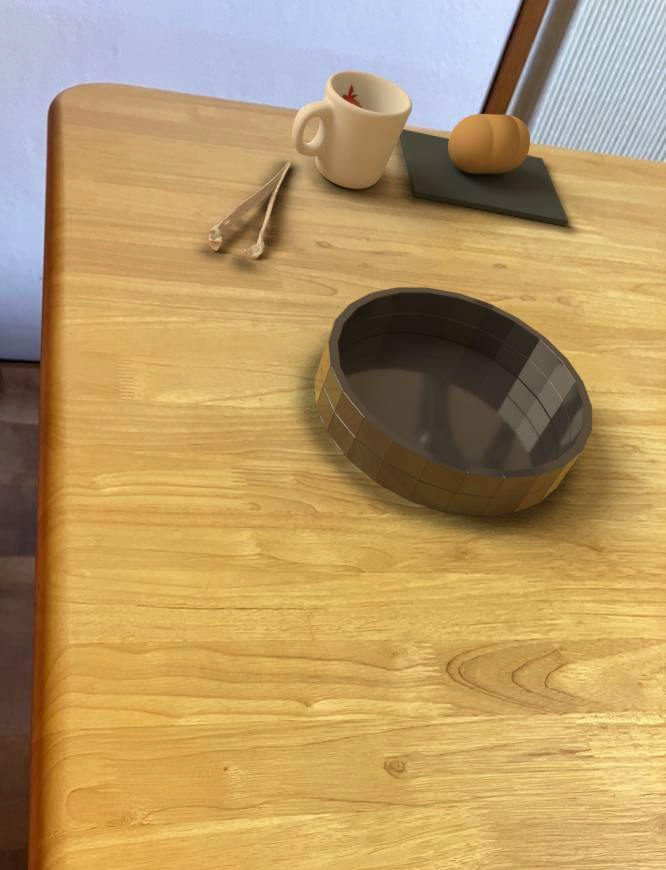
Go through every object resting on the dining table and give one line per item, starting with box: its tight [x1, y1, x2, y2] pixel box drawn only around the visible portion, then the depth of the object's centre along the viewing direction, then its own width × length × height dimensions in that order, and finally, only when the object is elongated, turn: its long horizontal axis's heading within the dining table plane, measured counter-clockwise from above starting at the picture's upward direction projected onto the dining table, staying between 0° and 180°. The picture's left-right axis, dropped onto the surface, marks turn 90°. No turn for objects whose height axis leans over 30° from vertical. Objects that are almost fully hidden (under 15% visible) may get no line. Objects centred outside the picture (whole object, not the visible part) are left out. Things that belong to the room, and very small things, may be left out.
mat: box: [399, 128, 569, 227], centre depth 90 cm, size 16×12×1 cm
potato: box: [448, 113, 531, 174], centre depth 88 cm, size 9×5×5 cm, turn 111°
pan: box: [313, 286, 593, 517], centre depth 64 cm, size 19×19×4 cm
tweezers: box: [208, 161, 292, 260], centre depth 78 cm, size 18×5×2 cm, turn 162°
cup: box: [291, 70, 413, 190], centre depth 81 cm, size 11×8×8 cm
